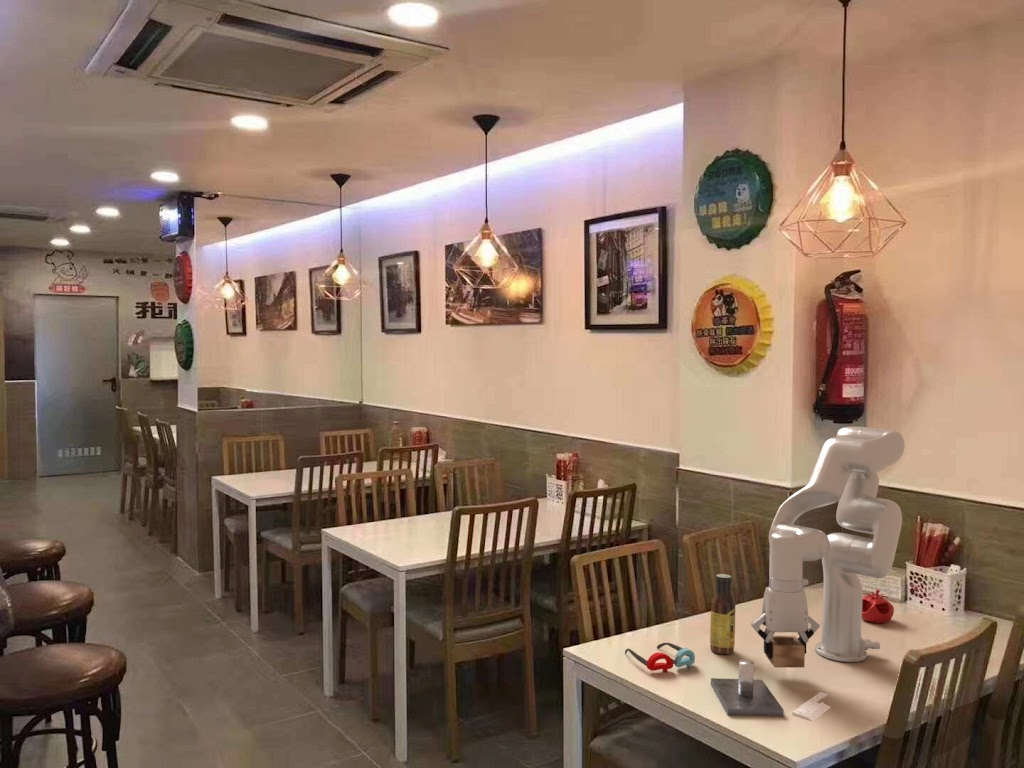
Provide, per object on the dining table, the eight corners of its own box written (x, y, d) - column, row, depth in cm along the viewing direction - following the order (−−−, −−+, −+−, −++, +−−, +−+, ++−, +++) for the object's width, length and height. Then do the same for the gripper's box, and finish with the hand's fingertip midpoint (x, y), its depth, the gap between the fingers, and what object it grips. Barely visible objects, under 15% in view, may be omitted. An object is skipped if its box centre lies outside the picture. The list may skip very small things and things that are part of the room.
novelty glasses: (651, 677, 195) (652, 657, 195) (618, 655, 208) (618, 636, 208) (698, 669, 201) (698, 649, 200) (663, 648, 214) (663, 630, 214)
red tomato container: (860, 613, 246) (861, 583, 246) (896, 619, 240) (897, 588, 240) (853, 621, 238) (854, 589, 238) (889, 628, 232) (890, 595, 232)
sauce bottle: (735, 656, 208) (737, 580, 207) (710, 654, 209) (712, 578, 209) (733, 647, 215) (735, 573, 214) (709, 645, 216) (711, 571, 215)
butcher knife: (842, 702, 183) (842, 697, 183) (814, 723, 172) (814, 718, 172) (820, 695, 186) (820, 690, 186) (791, 715, 175) (791, 710, 175)
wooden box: (794, 655, 198) (794, 635, 197) (804, 667, 191) (804, 646, 190) (765, 655, 198) (766, 635, 198) (774, 667, 191) (774, 646, 191)
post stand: (761, 685, 190) (762, 650, 190) (783, 716, 174) (784, 677, 174) (710, 684, 190) (711, 648, 190) (727, 715, 174) (728, 676, 174)
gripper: (816, 579, 197) (815, 650, 198) (745, 579, 197) (744, 650, 198) (828, 588, 189) (826, 662, 190) (753, 589, 190) (753, 663, 191)
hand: (784, 656), depth 194 cm, fingers closed on wooden box, 7 cm apart
